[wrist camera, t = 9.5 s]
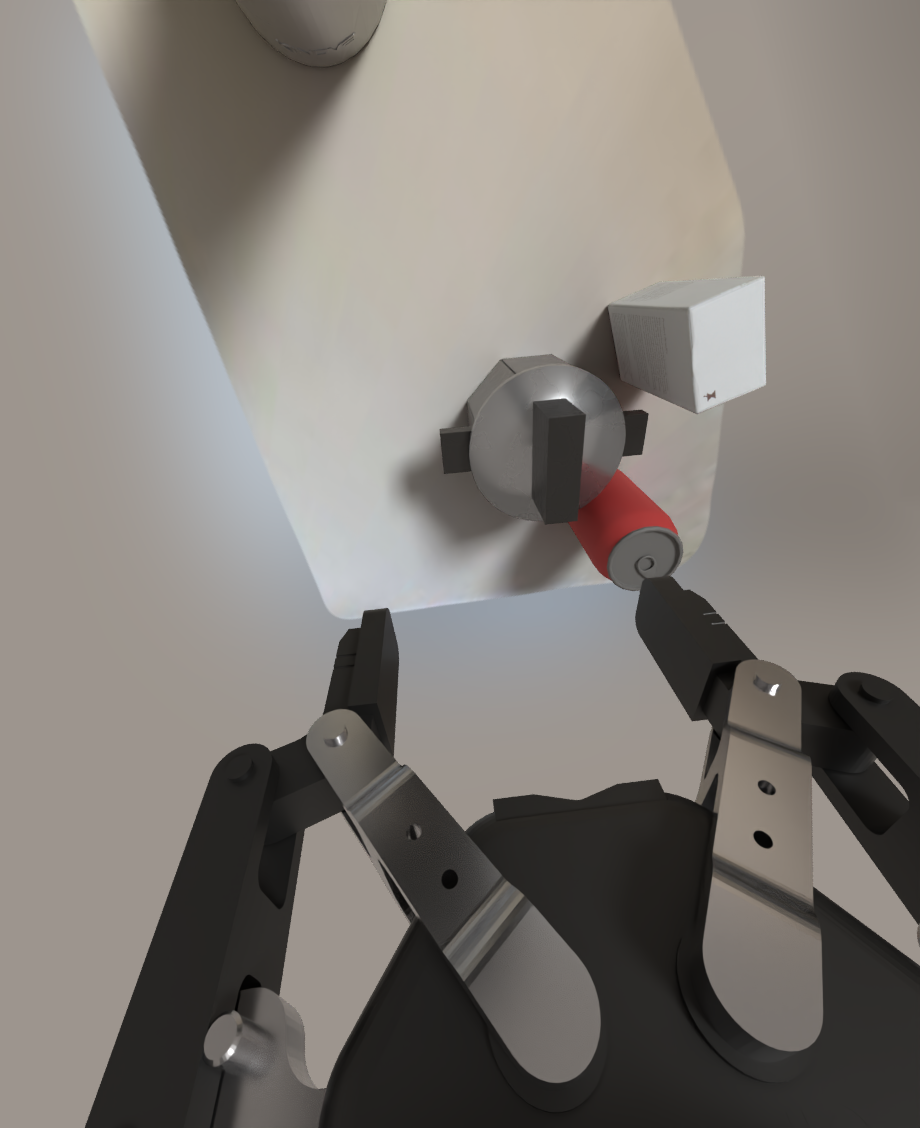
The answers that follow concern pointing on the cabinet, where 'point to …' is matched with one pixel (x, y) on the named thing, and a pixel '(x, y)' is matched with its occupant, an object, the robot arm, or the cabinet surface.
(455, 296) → the cabinet surface
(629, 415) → the pot
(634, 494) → the beer can
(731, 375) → the skincare box
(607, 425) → the lid
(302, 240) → the cabinet surface
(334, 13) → the robot arm
